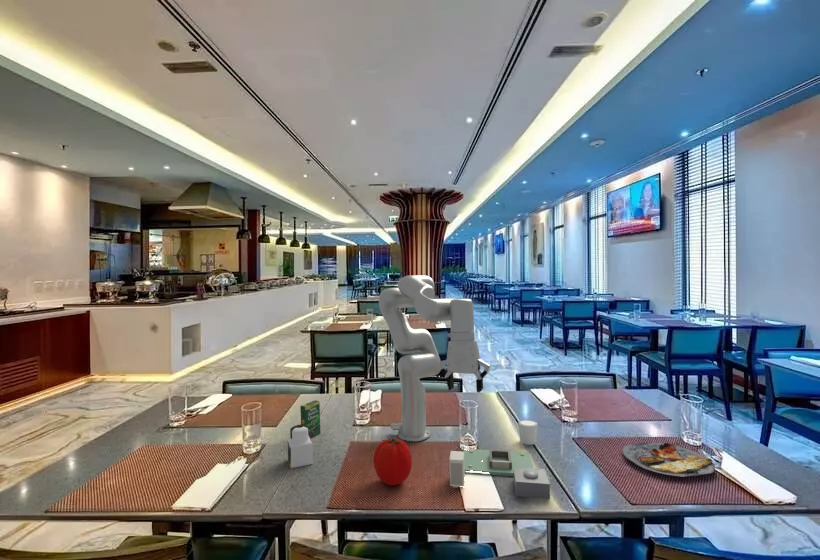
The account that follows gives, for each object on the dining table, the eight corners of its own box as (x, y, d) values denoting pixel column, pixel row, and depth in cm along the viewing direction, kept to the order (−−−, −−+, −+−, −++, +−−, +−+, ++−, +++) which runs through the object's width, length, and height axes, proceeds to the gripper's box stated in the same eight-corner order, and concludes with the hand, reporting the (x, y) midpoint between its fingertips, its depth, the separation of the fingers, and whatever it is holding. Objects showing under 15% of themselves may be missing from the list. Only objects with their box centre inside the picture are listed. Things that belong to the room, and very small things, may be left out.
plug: (449, 487, 117) (449, 459, 117) (451, 477, 123) (451, 450, 123) (463, 488, 116) (463, 460, 116) (464, 477, 123) (464, 451, 123)
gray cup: (538, 445, 145) (538, 426, 145) (519, 444, 146) (518, 425, 146) (536, 438, 152) (536, 420, 152) (518, 437, 153) (517, 419, 153)
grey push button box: (516, 496, 112) (515, 479, 112) (513, 480, 120) (513, 464, 120) (550, 498, 110) (549, 481, 110) (545, 482, 119) (544, 466, 119)
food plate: (671, 445, 143) (671, 435, 143) (735, 476, 121) (734, 465, 120) (608, 453, 139) (608, 443, 139) (661, 487, 116) (661, 475, 116)
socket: (489, 467, 127) (489, 461, 127) (489, 455, 135) (489, 449, 135) (511, 469, 125) (511, 462, 125) (510, 456, 134) (509, 450, 134)
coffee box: (305, 440, 154) (305, 406, 154) (300, 439, 155) (299, 405, 155) (321, 433, 161) (320, 400, 161) (315, 432, 162) (315, 399, 162)
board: (461, 472, 126) (461, 468, 126) (464, 451, 141) (464, 447, 141) (535, 477, 122) (535, 473, 122) (529, 455, 137) (529, 451, 137)
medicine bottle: (287, 460, 137) (287, 424, 137) (309, 456, 140) (308, 421, 140) (290, 468, 131) (289, 431, 131) (312, 464, 133) (312, 428, 133)
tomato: (416, 474, 125) (415, 432, 125) (407, 495, 113) (406, 448, 113) (380, 471, 128) (379, 429, 128) (367, 491, 116) (367, 445, 116)
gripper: (433, 337, 131) (435, 390, 130) (484, 338, 123) (487, 395, 122) (443, 335, 138) (445, 385, 137) (492, 336, 129) (494, 389, 129)
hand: (465, 390), depth 130 cm, fingers open, 9 cm apart
